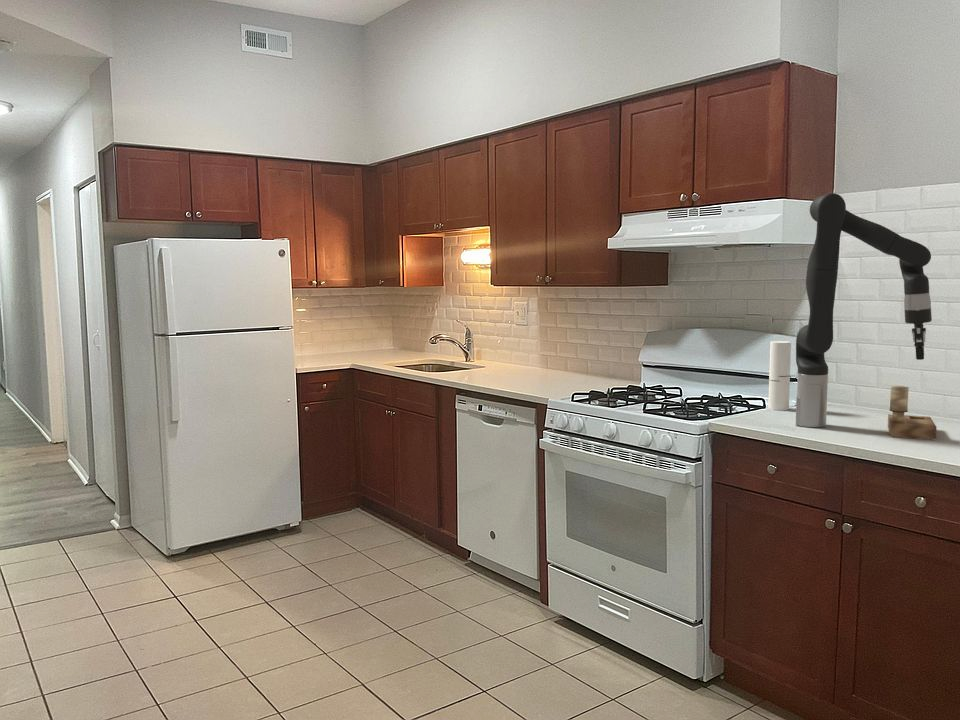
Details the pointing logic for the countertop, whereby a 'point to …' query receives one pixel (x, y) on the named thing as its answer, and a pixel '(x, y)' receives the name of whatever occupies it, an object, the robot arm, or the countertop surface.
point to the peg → (898, 403)
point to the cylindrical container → (779, 375)
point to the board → (913, 427)
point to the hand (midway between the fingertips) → (920, 357)
